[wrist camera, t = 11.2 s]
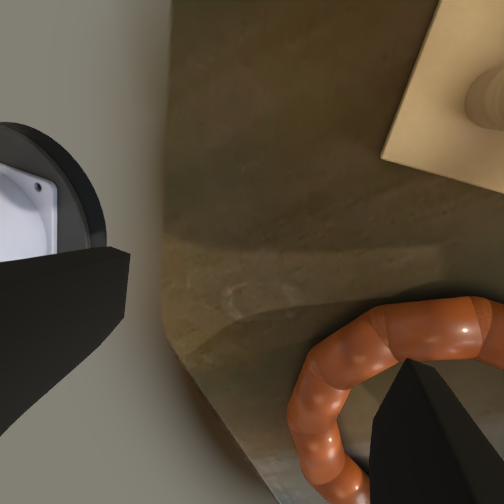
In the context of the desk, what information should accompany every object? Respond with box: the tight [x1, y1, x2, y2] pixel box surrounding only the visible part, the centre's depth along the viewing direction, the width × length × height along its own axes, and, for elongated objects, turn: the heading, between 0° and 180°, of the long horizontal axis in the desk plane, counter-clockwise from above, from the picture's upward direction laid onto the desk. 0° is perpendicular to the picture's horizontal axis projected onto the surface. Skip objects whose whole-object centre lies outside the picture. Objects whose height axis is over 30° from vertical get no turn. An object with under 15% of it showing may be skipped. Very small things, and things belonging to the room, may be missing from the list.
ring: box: [286, 296, 504, 504], centre depth 18 cm, size 16×16×3 cm
